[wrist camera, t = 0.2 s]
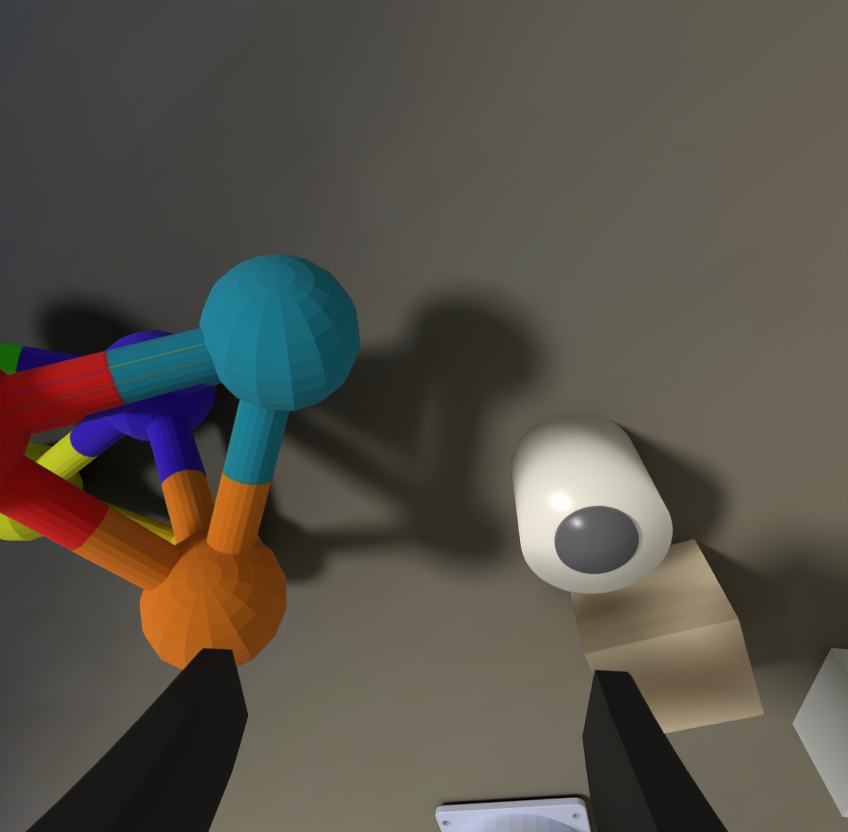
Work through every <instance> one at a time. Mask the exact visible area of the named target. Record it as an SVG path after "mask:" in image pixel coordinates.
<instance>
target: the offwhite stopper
mask: <svg viewBox="0 0 848 832" xmlns="http://www.w3.org/2000/svg"><path fill="white" fill-rule="evenodd" d="M512 477H513V485H514V494H515V502H516V510H517V518H518V526H519V534H520V542H521V549H522V553H523V556H524V558H525V560H526V562H527V564H528V565H529V567H530V568H531V569H532V570H533V571H534V573H535V574H536V575H538V576H539V577H540V578H541V579H543V580H544V581H546V582H547V583H549V584H551V585H553V586H555V587H557V588H560V589H563V590H566V591H571V592H576V593H585V594H596V593H605V592H611V591H615V590H619V589H622V588H625V587H628V586H630V585H632V584H634V583H636V582H638V581H640V580H641V579H643V578H645V577H646V576H647V575H649V574H650V573H651V572H652V571H653V570H654V569H655V568H656V567H657V566H658V565H659V564H660V563H661V561H662V560H663V559H664V557H665V556H666V554H667V552H668V550H669V547H670V544H671V540H672V533H673V527H672V520H671V517H670V514H669V512H668V510H667V508H666V506H665V504H664V502H663V500H662V498H661V496H660V495H659V493H658V491H657V489H656V487H655V485H654V483H653V481H652V479H651V477H650V475H649V474H648V472H647V470H646V468H645V466H644V464H643V462H642V460H641V458H640V456H639V454H638V453H637V451H636V449H635V447H634V445H633V443H632V441H631V439H630V437H629V436H628V435H627V433H626V432H625V431H624V430H623V429H622V428H621V427H620V426H618V425H617V424H616V423H614V422H613V421H611V420H609V419H607V418H604V417H602V416H599V415H595V414H590V413H567V414H562V415H558V416H555V417H552V418H549V419H547V420H545V421H543V422H541V423H539V424H538V425H536V426H535V427H534V428H532V429H531V430H530V431H529V432H528V433H527V434H526V435H525V436H524V437H523V438H522V440H521V441H520V443H519V444H518V446H517V448H516V450H515V453H514V456H513V460H512Z"/></svg>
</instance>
